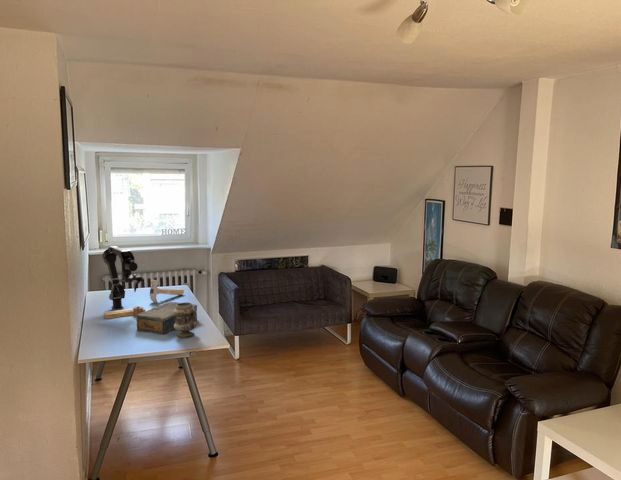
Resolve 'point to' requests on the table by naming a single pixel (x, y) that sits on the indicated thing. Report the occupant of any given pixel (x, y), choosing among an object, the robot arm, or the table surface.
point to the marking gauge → (137, 310)
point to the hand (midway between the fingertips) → (127, 292)
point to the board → (120, 313)
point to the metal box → (159, 319)
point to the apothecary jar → (184, 319)
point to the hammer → (162, 291)
